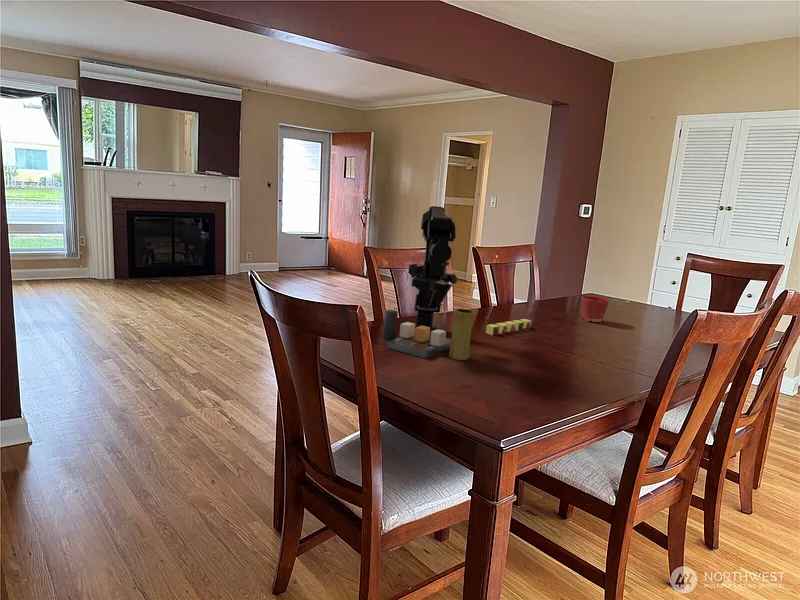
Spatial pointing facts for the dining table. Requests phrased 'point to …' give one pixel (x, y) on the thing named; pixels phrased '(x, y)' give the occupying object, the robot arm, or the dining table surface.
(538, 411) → the dining table surface
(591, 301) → the flower pot
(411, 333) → the toggle left
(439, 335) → the toggle right
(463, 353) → the vase
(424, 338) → the toggle mid
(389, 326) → the cable post
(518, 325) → the yellow picture block train
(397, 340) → the breaker panel
